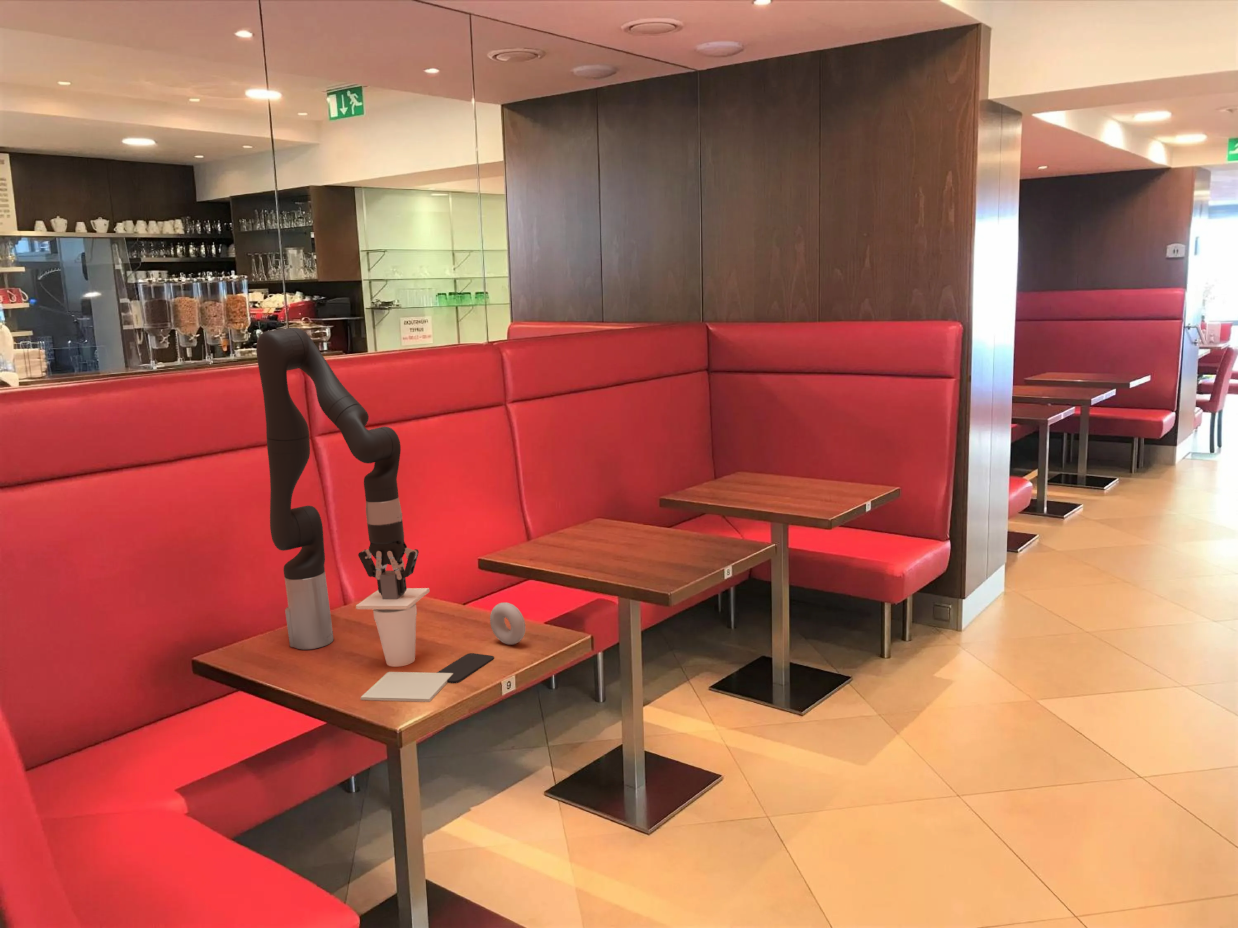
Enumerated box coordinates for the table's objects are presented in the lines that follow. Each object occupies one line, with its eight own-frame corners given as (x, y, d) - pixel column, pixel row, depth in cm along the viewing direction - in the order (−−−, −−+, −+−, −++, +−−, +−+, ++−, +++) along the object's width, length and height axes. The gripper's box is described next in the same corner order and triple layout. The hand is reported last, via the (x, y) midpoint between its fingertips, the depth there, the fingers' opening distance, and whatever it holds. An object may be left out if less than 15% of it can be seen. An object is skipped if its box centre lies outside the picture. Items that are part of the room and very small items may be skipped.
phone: (496, 656, 215) (456, 681, 202) (496, 659, 216) (457, 685, 202) (468, 652, 219) (428, 677, 206) (469, 655, 219) (428, 680, 206)
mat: (360, 699, 197) (360, 697, 197) (388, 674, 210) (388, 671, 210) (429, 701, 194) (429, 698, 194) (453, 675, 207) (453, 672, 207)
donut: (488, 642, 225) (484, 601, 223) (499, 637, 228) (495, 597, 226) (520, 650, 219) (516, 608, 217) (530, 645, 221) (526, 603, 220)
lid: (356, 609, 210) (352, 581, 209) (380, 591, 222) (377, 565, 221) (407, 609, 208) (404, 581, 206) (429, 591, 219) (426, 564, 218)
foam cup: (384, 672, 211) (378, 615, 209) (374, 659, 219) (368, 604, 217) (427, 662, 215) (421, 606, 213) (415, 649, 223) (409, 596, 221)
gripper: (346, 523, 209) (355, 600, 212) (407, 522, 206) (416, 600, 209) (362, 515, 216) (371, 589, 220) (421, 514, 213) (429, 589, 217)
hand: (393, 594), depth 214 cm, fingers closed on lid, 3 cm apart
